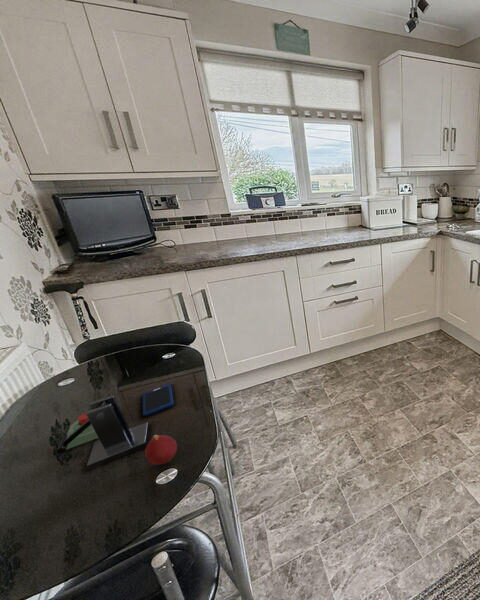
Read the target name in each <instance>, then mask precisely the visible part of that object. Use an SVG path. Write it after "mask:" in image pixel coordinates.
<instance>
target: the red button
mask: <svg viewBox="0 0 480 600" xmlns="http://www.w3.org/2000/svg"><path fill="white" fill-rule="evenodd" d="M77 420H78V421H79V423H80V424H81V425H83V424H84V423H85V422H86V421H87V420H88V417H87V416H86V412H85V413H84V412H83V413H82V414H81V415H79V416H78V418H77Z"/></svg>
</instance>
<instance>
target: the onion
mask: <svg viewBox="0 0 480 600" xmlns="http://www.w3.org/2000/svg"><path fill="white" fill-rule="evenodd" d="M177 451H178V444H177V441H176V440H175V439H174V438H173V437H172V436H170V435H165V434H159V435H158V434H155V435H153V436H152V438H151V440H150V441H149V442H147V446H146V447H145V450H144V456H145V459H146V461H147V462H148V463H150V464H152V465H154V466H155V465H160V466H161V465H166V464H169V463H170V462H171V461H172V459H173V458H174V457H175V456H176V454H177Z"/></svg>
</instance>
